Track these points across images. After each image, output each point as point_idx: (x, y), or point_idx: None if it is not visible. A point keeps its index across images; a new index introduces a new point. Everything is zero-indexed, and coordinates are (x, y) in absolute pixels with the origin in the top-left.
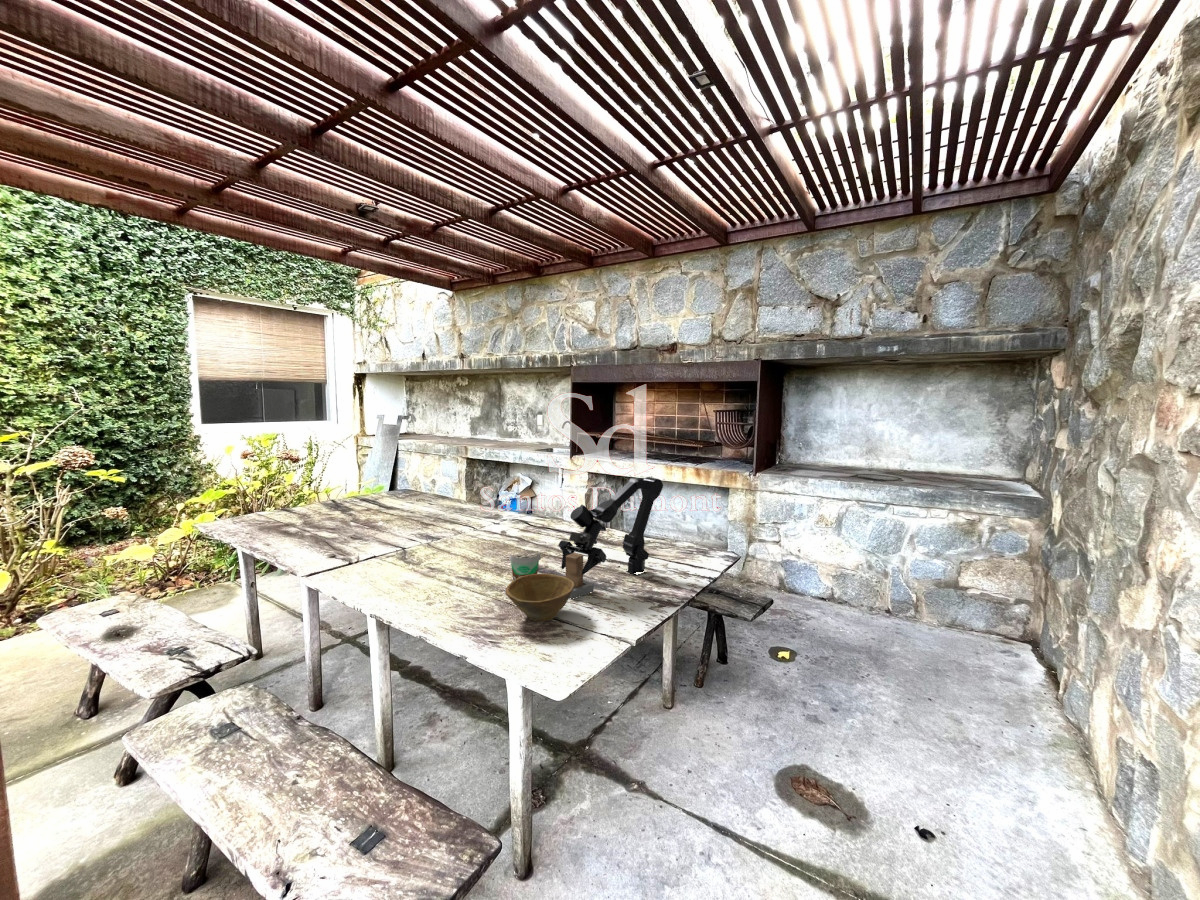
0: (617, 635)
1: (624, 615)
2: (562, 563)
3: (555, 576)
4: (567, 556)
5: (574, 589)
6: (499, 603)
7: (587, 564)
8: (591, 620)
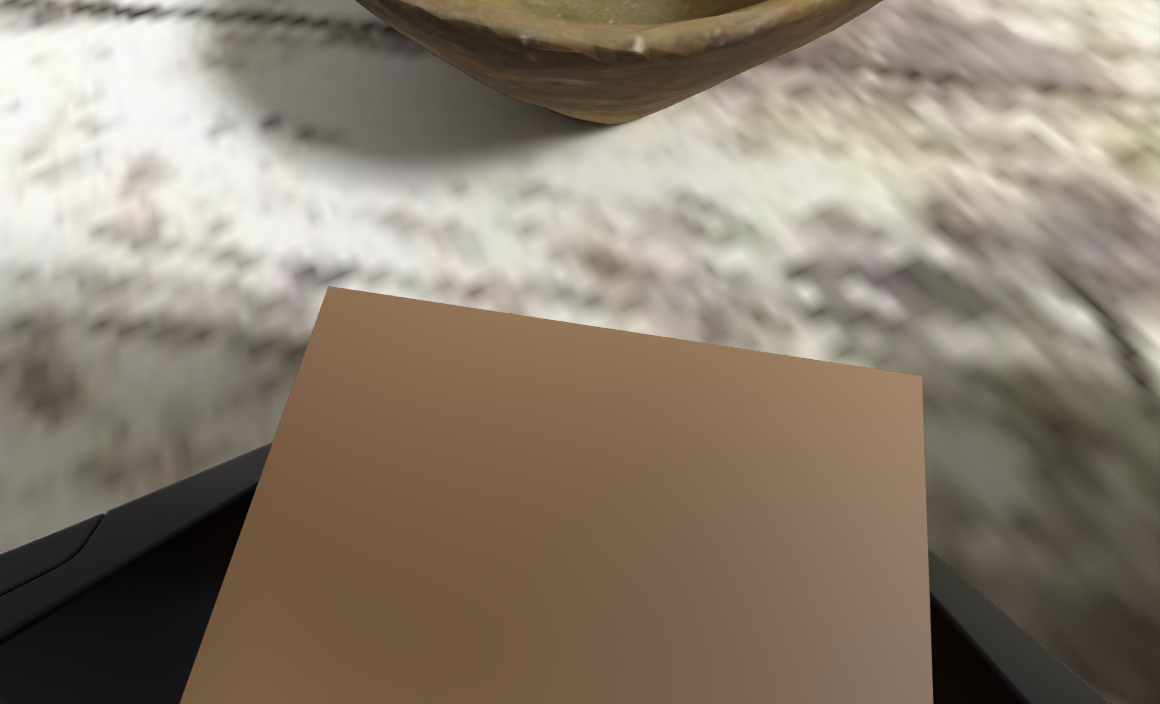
0: (57, 33)
1: (22, 274)
2: (951, 584)
3: (661, 25)
4: (808, 359)
5: None
6: (997, 52)
7: (89, 527)
8: (252, 114)
